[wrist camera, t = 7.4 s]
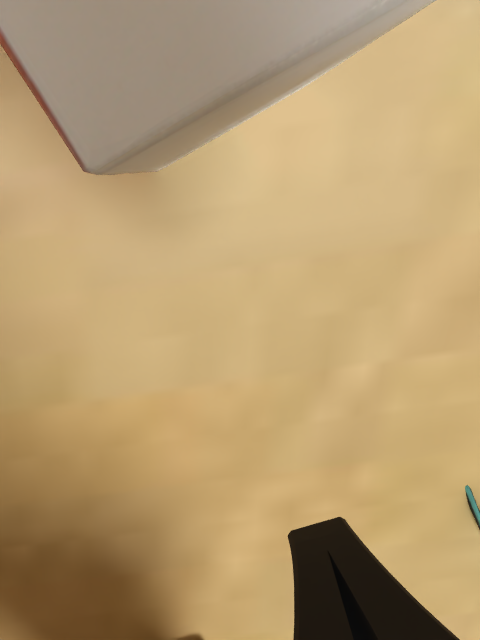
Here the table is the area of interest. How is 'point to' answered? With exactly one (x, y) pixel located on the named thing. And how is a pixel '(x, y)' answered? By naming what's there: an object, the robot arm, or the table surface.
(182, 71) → the small box
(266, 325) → the table surface
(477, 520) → the safety glasses
